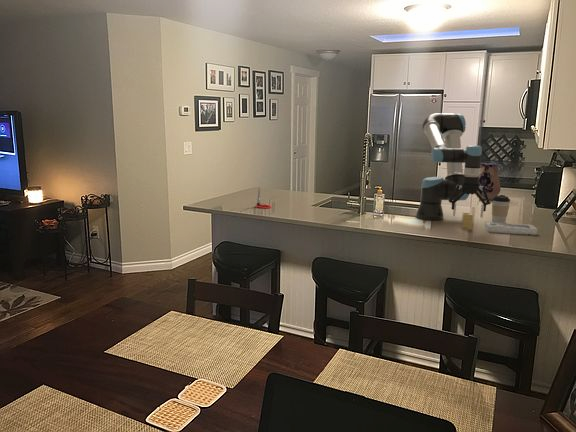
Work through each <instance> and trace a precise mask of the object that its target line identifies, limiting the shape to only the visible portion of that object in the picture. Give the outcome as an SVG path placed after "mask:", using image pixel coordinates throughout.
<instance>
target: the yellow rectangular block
mask: <svg viewBox="0 0 576 432" xmlns="http://www.w3.org/2000/svg"><path fill="white" fill-rule="evenodd" d="M473 219H474V214H473V213H472V212H462V216H461V225H460V227H461V229H462V230H468V231H472V229H473V228H472V227H473Z"/></svg>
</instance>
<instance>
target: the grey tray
mask: <svg viewBox="0 0 576 432" xmlns="http://www.w3.org/2000/svg"><path fill="white" fill-rule="evenodd" d="M484 228H485V230H486V231H487V233H499V234H500V233H501V234H512V235H513V234H515V235H528V234H530V236H537V235H538V228H536V227H535V226H534V225H533V224H528V223H527V224H525V223H524V224H523V223H509V222H508V223H507V222H506V223H493V222H492V221H491V222H489V221H485V222H484Z"/></svg>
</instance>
